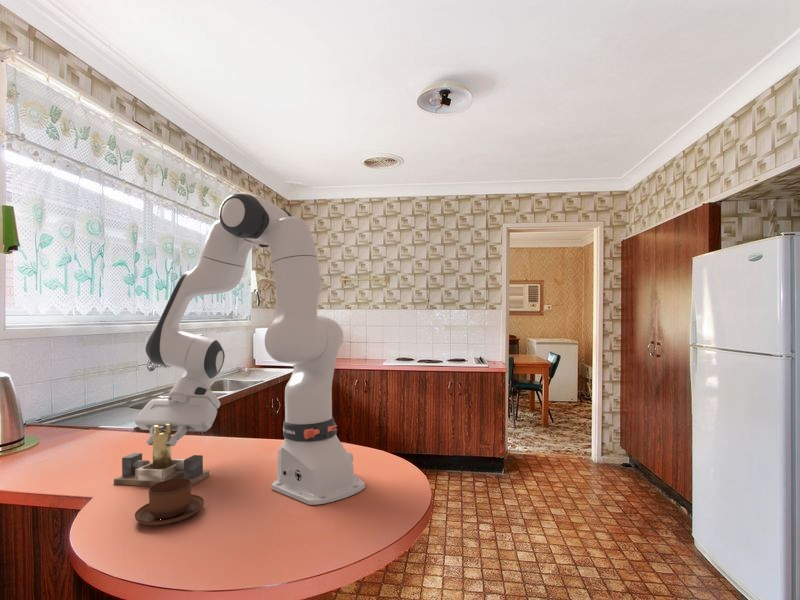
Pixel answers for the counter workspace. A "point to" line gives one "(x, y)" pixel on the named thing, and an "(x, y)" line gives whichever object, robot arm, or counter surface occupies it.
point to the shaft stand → (160, 470)
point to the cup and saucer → (169, 503)
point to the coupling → (161, 447)
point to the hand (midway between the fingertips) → (160, 444)
